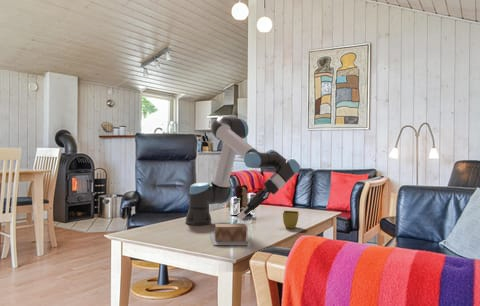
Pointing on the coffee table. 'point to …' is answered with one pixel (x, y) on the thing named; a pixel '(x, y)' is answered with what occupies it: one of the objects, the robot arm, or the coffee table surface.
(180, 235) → the coffee table surface
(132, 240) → the coffee table surface
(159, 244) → the coffee table surface
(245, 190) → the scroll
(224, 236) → the walnut block
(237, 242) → the mat
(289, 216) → the flower pot
